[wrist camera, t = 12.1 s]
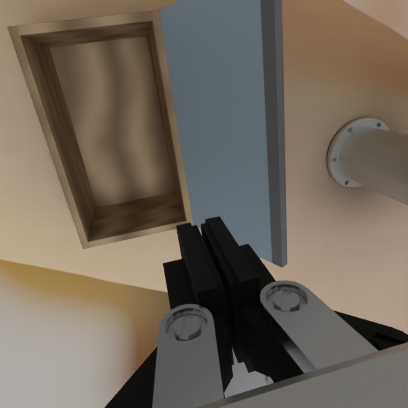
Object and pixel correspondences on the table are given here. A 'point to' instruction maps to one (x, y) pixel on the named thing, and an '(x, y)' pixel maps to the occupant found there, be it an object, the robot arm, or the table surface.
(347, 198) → the table surface
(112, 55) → the wooden box
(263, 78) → the lid flap
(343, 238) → the table surface
